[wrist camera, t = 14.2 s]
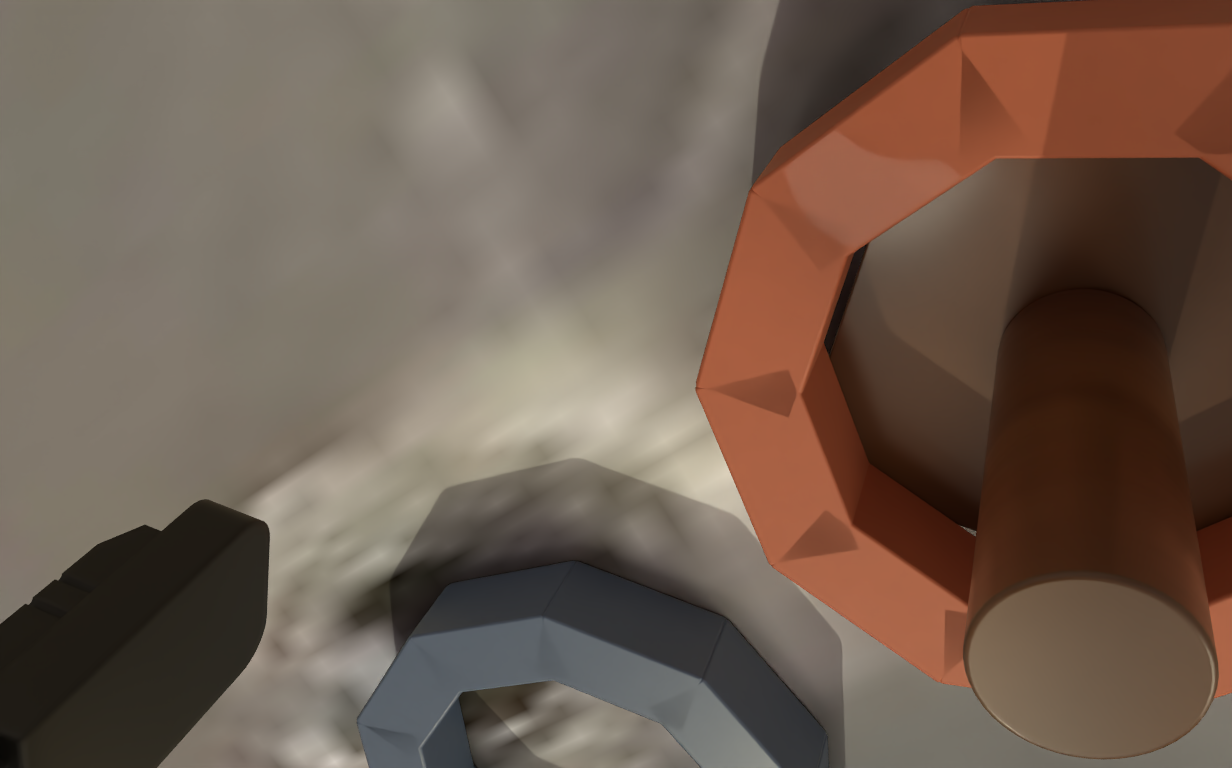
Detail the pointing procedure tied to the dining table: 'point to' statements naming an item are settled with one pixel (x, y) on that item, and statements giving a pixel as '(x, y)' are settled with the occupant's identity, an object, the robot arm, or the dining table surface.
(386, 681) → the slate ring
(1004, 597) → the post
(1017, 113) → the terracotta ring
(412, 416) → the dining table surface
